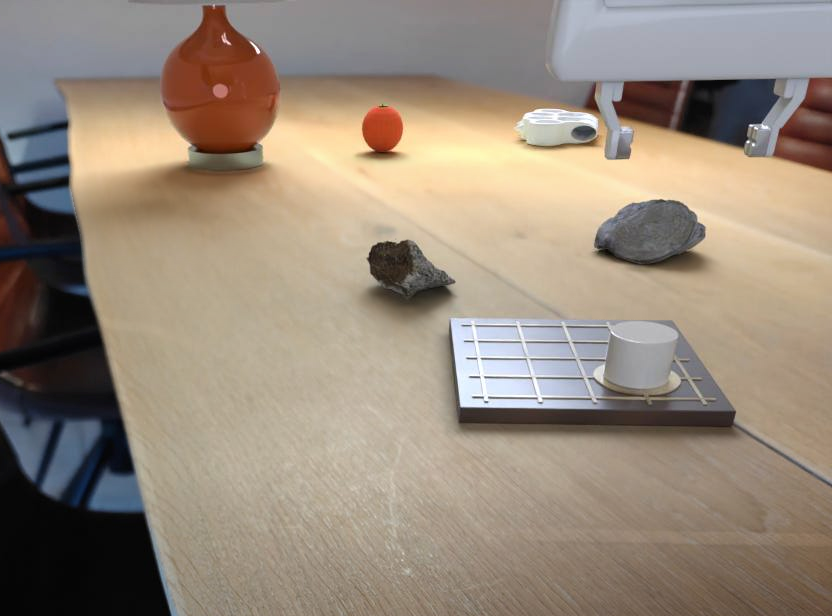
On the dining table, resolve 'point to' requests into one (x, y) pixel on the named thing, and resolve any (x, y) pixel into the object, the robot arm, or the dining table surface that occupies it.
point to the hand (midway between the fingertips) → (686, 157)
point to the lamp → (219, 89)
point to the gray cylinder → (640, 354)
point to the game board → (571, 377)
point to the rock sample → (404, 268)
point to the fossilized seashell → (650, 231)
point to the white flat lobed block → (557, 127)
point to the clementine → (382, 128)
